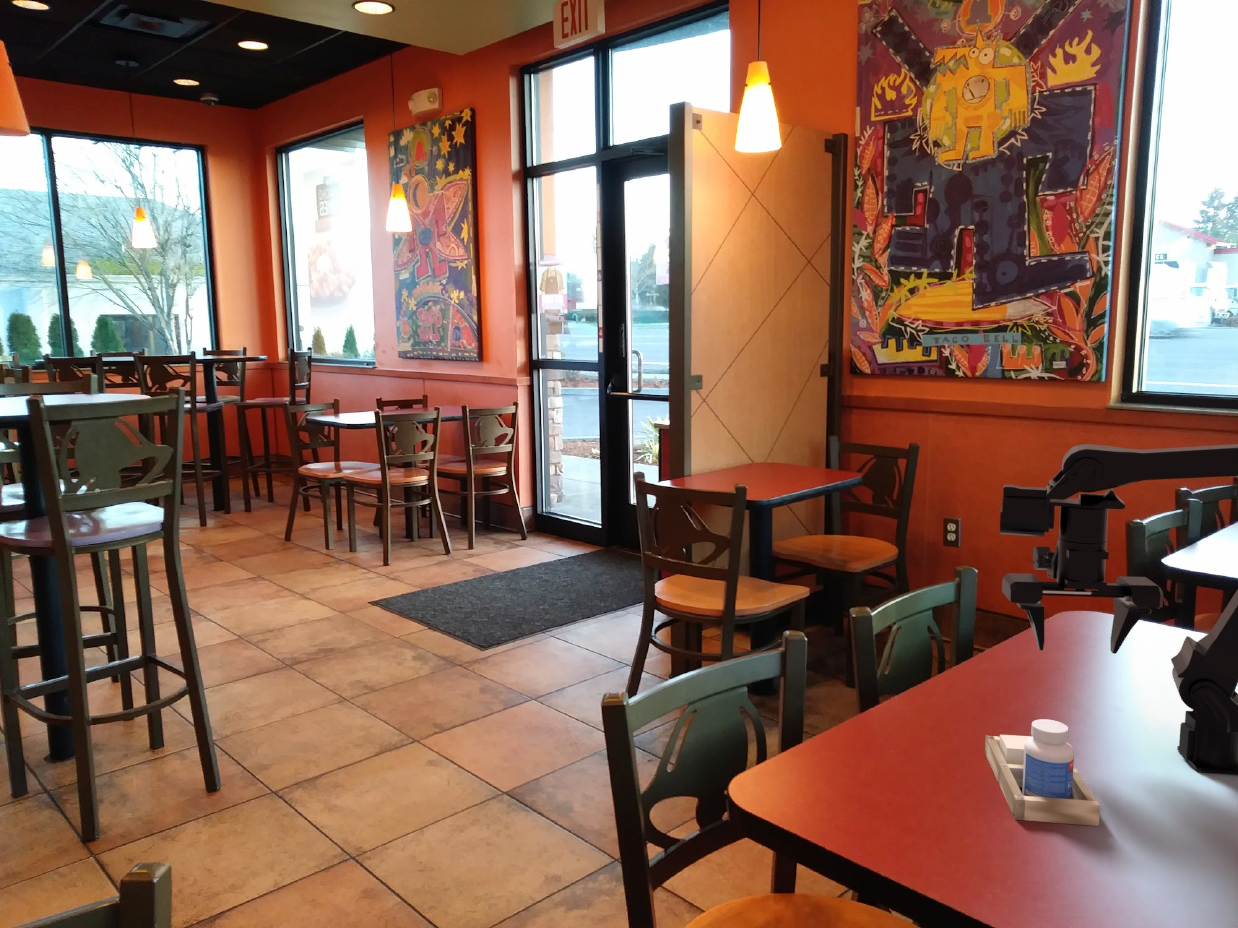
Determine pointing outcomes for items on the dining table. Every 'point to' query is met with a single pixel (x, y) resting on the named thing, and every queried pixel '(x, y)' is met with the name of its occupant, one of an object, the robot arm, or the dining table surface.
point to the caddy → (1041, 808)
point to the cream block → (1013, 748)
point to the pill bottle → (1048, 761)
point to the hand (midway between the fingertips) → (1076, 650)
